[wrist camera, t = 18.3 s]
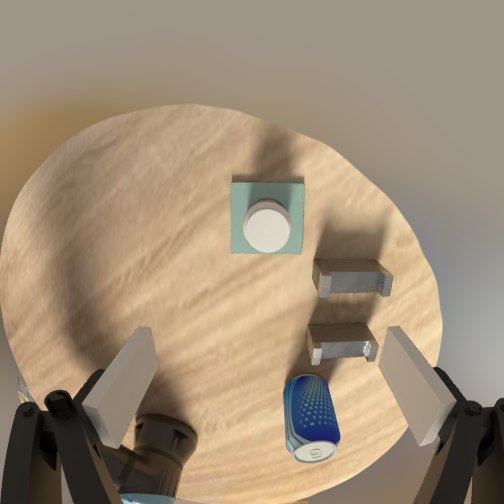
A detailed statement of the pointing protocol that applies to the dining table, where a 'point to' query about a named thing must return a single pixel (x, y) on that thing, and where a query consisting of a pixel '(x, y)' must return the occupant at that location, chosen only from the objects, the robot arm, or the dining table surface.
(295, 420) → the beer can
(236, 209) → the coaster
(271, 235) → the pill bottle
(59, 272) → the dining table surface
